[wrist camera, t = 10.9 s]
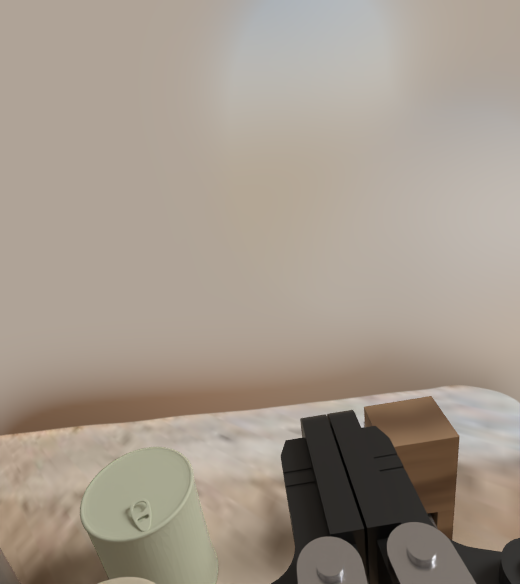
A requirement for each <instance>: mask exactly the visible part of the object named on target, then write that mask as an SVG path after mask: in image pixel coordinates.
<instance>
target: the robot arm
mask: <svg viewBox="0 0 520 584" xmlns="http://www.w3.org/2000/svg"><path fill="white" fill-rule="evenodd" d="M300 421H301V430H302V438H298V439H292V440H286V441H285V444H284V447H283V450H282V453H281V461H282V468H283V474H284V481H285V488H286V494H287V500H288V506H289V512H290V518H291V524H292V530H293V536H294V542H295V554H294V558H293V560H292V563H291V565H290V566H289V568H288V570H287V571H286V572H285V573H284V574H283V575H282V576H281V577H280V578H279V579H277V580H276V581H274V582H273V583H271V584H520V538H518V539H514V540H512V541H510V542H509V543H508V544H506V546H505V547H504V548H503V551H502V552H498V551H492V550H485V549H478V548H472V547H468V546H464V545H461V544H459V543H456V542H454V541H452V540H451V539H449V538H447V537H446V536H445V535H444V534H443V533H442V532H441V531H440V530H438V529H437V528H436V527H435V526H434V524H433V523H432V522H431V520H430V518H429V516H428V514H427V512H426V510H425V508H424V506H423V504H422V502H421V500H420V498H419V496H418V494H417V492H416V490H415V488H414V486H413V484H412V482H411V480H410V478H409V476H408V474H407V472H406V470H405V469H404V466H403V464H402V462H401V460H400V458H399V456H398V455H397V452H396V450H395V448H394V446H393V444H392V442H391V440H390V438H389V437H388V436H387V435H386V434H385V433H383V432H382V431H381V430H380V429H379V428H378V427H377V426H370V427H364V428H361V426H360V424H359V422H358V419H357V417H356V415H355V413H354V411H353V410H349V411H343V412H336V413H330V414H327V416H326V415H319V416H313V417H307V418H301V419H300ZM0 584H21V583H20V581H19V579H18V577H17V576H16V574H15V572H14V571H13V569H12V567H11V566H10V564H9V562H8V560H7V559H6V557H5V555H4V554H3V552H2V550H1V548H0Z"/></svg>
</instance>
